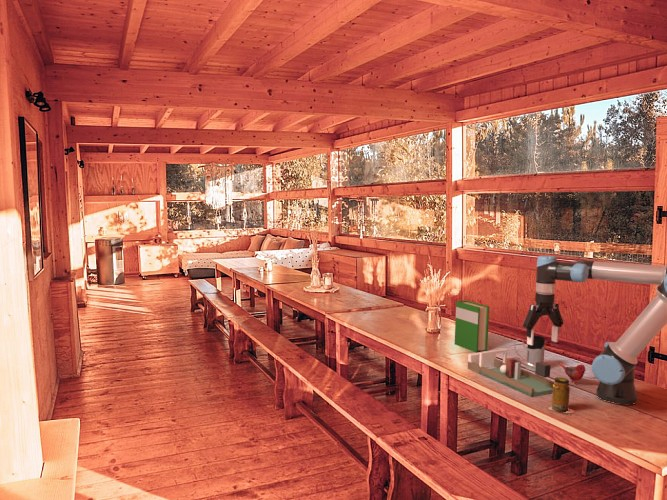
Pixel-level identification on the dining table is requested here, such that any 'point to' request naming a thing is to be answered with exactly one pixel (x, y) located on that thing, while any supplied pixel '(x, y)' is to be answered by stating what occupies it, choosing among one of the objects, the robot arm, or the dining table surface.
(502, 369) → the ball
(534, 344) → the glass holder
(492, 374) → the pitch
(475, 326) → the hardback book
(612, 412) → the dining table surface
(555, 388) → the condiment
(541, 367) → the foosball rod
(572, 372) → the decorative bird figurine
